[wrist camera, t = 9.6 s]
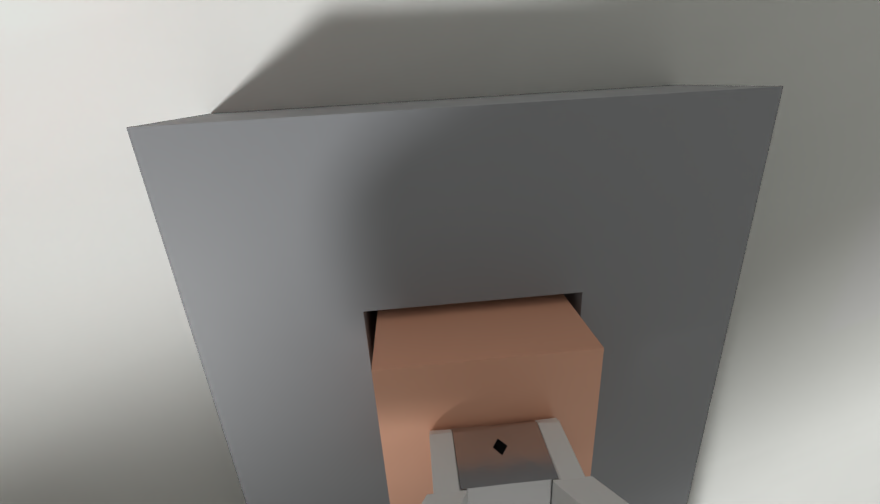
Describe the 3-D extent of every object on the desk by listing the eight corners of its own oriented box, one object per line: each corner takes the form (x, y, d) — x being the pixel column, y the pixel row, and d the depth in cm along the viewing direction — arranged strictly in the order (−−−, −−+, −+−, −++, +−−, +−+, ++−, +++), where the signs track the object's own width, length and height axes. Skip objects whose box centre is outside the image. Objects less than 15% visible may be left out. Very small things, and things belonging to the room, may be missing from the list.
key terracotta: (540, 402, 15) (587, 510, 11) (396, 417, 14) (394, 532, 11) (546, 271, 13) (604, 347, 9) (380, 285, 13) (371, 370, 9)
